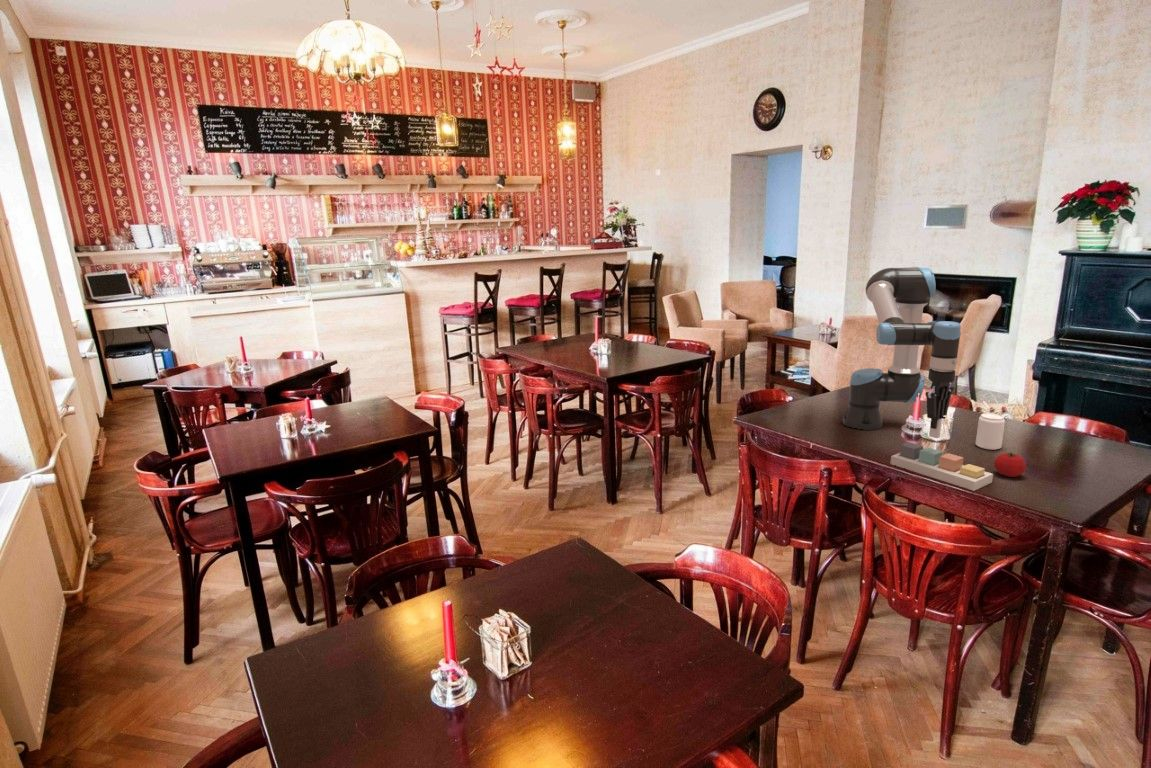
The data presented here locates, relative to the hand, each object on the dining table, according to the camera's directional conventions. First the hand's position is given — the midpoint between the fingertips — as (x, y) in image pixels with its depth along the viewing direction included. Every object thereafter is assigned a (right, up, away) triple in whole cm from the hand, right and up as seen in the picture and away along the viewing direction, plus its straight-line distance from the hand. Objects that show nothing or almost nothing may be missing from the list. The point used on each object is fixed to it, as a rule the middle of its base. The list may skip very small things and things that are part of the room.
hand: (934, 436), depth 212 cm
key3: (+4, -11, -3) cm, 12 cm away
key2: (0, -9, +3) cm, 10 cm away
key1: (-4, -8, +8) cm, 12 cm away
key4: (+7, -14, -8) cm, 17 cm away
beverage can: (+33, -6, +22) cm, 40 cm away
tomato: (+23, -13, -3) cm, 26 cm away
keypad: (+2, -12, 0) cm, 12 cm away
